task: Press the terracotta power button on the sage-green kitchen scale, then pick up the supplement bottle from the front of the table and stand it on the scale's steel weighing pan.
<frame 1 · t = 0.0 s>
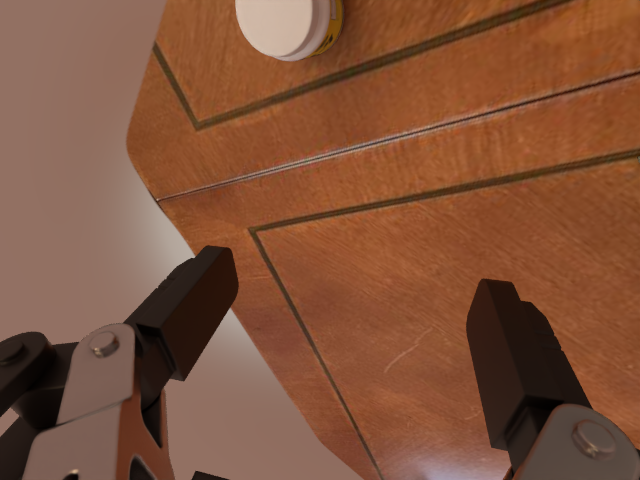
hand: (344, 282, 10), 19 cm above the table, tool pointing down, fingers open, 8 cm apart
supplement bottle: (312, 16, 22), on the table
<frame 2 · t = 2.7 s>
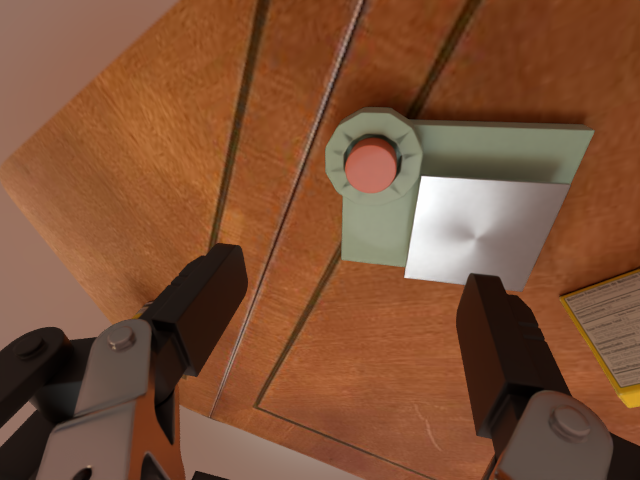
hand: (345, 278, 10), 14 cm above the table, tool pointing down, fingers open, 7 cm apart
scale: (440, 199, 23), on the table
power button: (371, 165, 19), point 3 cm above the table, slide at 0.2 cm
scale pan: (474, 235, 20), resting on scale
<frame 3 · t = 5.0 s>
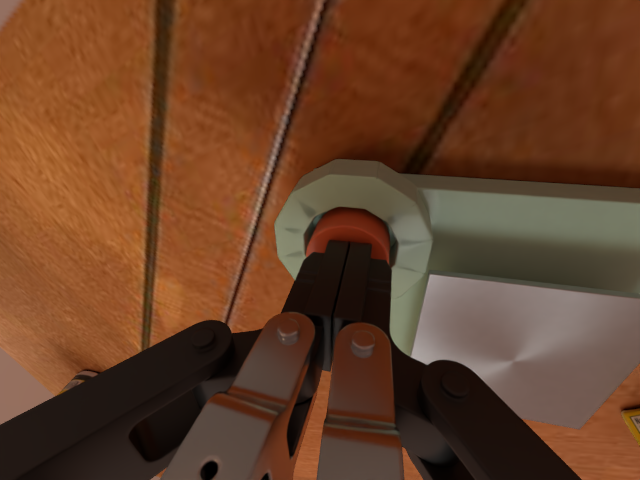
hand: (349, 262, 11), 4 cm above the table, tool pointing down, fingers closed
scale: (455, 283, 15), on the table
power button: (349, 249, 12), point 3 cm above the table, slide at -0.3 cm, touching gripper
scale pan: (511, 354, 13), resting on scale
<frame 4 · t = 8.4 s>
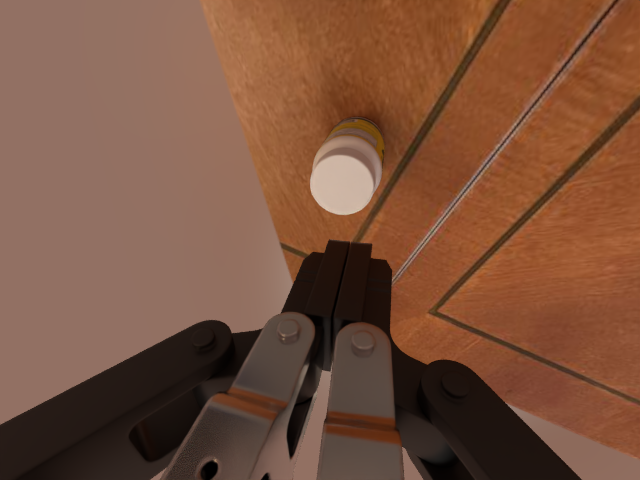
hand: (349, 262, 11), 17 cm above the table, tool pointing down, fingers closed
supplement bottle: (356, 145, 26), on the table
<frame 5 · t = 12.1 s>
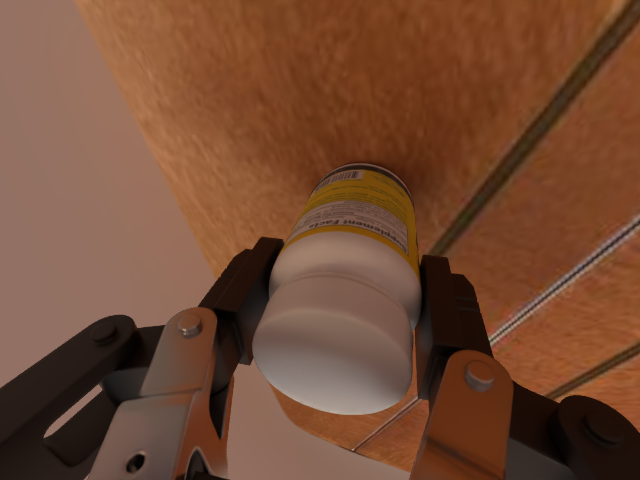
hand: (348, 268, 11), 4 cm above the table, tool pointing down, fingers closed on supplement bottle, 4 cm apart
supplement bottle: (361, 208, 15), on the table, touching gripper
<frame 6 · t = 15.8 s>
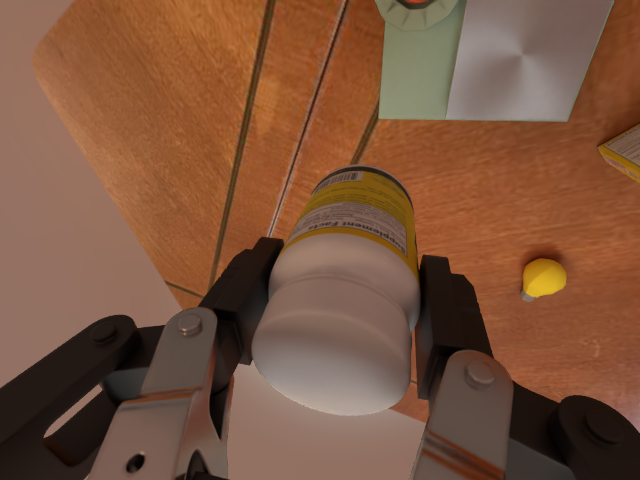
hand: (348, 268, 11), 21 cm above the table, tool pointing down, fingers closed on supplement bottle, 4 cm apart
scale: (481, 37, 23), on the table
supplement bottle: (361, 209, 15), point 16 cm above the table, touching gripper
light bulb: (532, 273, 33), on the table
scale pan: (520, 55, 21), resting on scale
when the fingers open (8 cm above the table, at t = 20.0 s): supplement bottle stays where it is, resting on scale pan.
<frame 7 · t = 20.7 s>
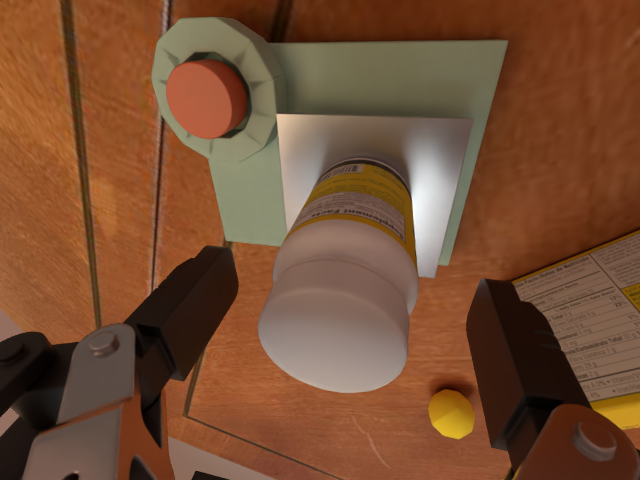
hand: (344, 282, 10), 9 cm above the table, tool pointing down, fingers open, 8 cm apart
scale: (334, 158, 17), on the table
power button: (208, 99, 14), point 3 cm above the table, slide at 0.2 cm
supplement bottle: (361, 201, 15), point 3 cm above the table, touching scale pan
light bulb: (444, 398, 27), on the table
scale pan: (363, 201, 15), resting on scale
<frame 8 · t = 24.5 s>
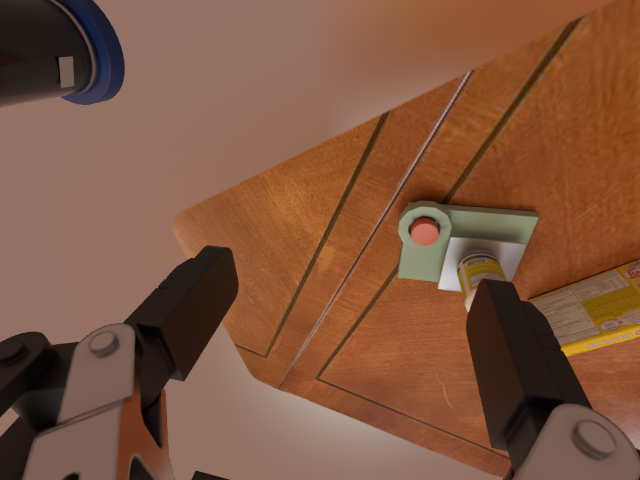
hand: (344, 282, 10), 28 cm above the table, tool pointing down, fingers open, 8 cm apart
scale: (458, 244, 40), on the table
candy box: (598, 278, 39), on the table
power button: (424, 231, 36), point 3 cm above the table, slide at 0.2 cm
supplement bottle: (477, 267, 38), point 3 cm above the table, touching scale pan
scale pan: (478, 266, 38), resting on scale
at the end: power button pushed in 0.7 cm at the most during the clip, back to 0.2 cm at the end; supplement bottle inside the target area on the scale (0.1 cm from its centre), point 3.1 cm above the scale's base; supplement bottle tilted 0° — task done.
